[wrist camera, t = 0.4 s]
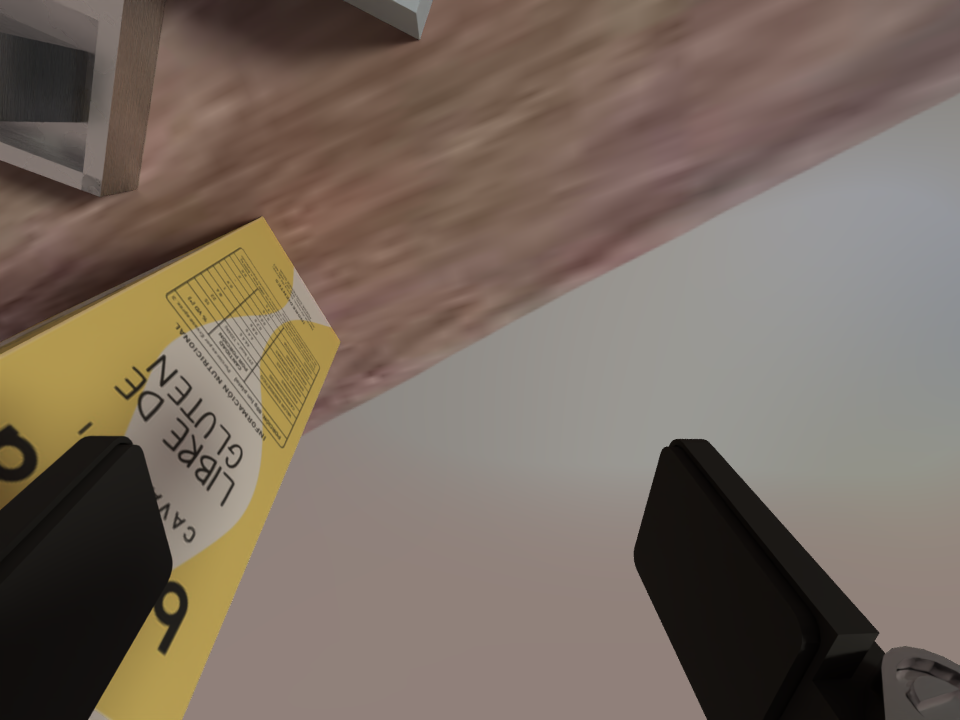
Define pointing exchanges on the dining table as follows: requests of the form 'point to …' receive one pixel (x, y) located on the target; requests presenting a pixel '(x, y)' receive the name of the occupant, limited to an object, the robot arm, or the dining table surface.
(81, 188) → the grey open box
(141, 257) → the dining table surface
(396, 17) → the grey block
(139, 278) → the pasta box
